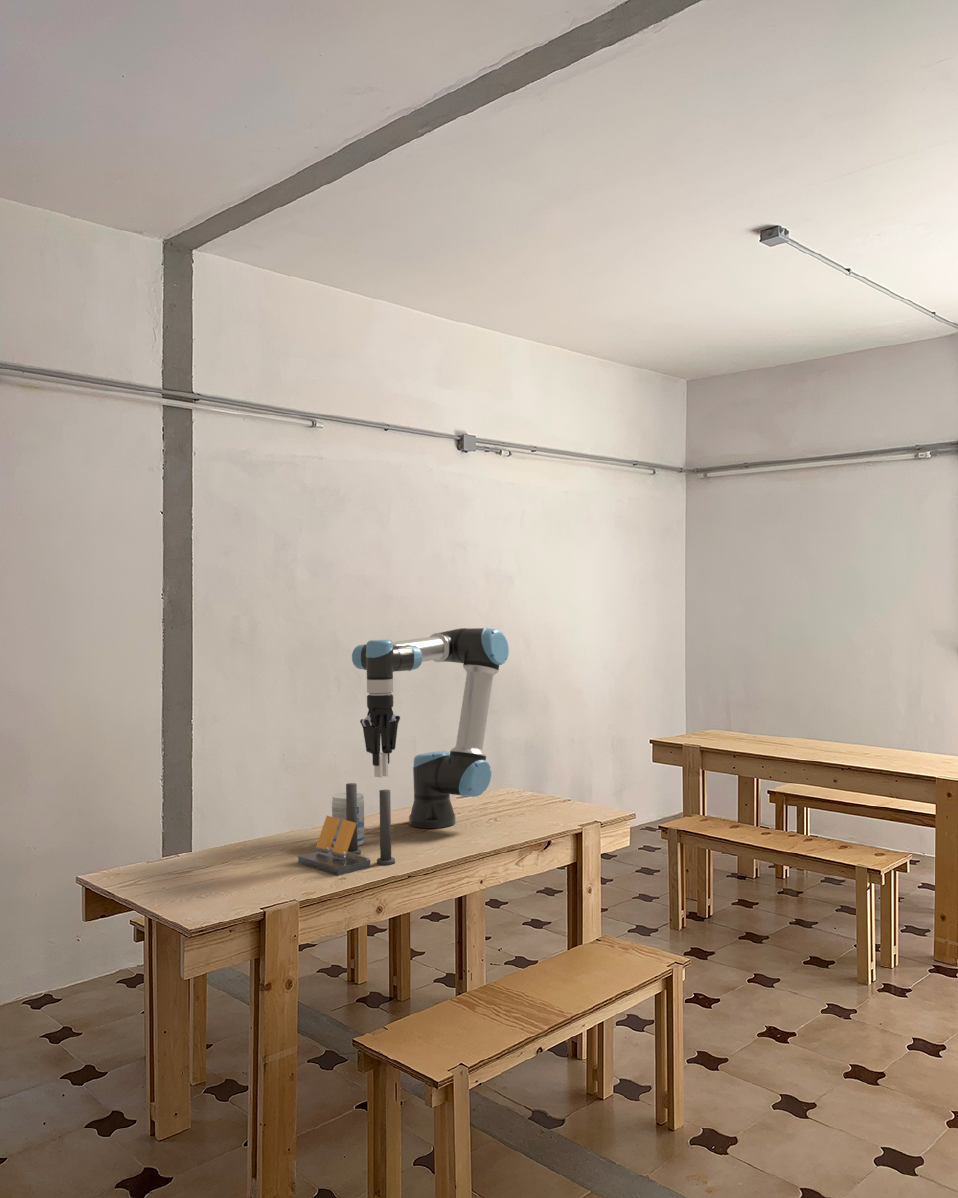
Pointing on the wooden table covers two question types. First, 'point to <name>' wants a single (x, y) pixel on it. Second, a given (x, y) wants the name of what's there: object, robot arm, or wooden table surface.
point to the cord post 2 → (385, 829)
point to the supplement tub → (340, 813)
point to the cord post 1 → (352, 814)
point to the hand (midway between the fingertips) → (381, 776)
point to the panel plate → (334, 862)
